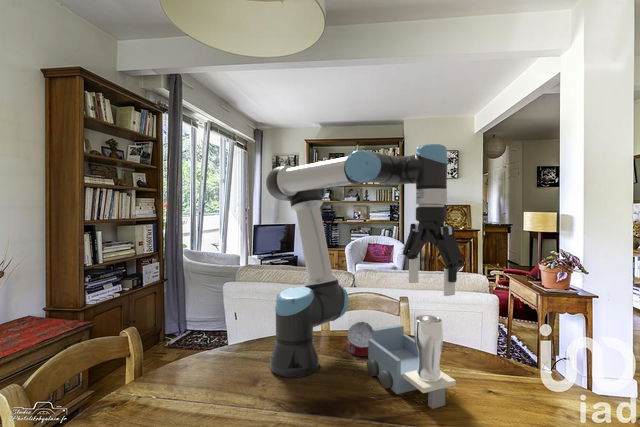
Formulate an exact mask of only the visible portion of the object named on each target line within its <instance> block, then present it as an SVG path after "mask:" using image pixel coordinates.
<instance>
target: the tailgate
mask: <svg viewBox="0 0 640 427" xmlns="http://www.w3.org/2000/svg"><path fill="white" fill-rule="evenodd" d="M416 373H417V370H416V371H411V372H407V373H404V378H405V379H406V380H407V381H408V382H410V383H411V384H412V385H413V386H415V387H416V388H417V390H418V391H420V392H421V393H422V394H426V393H428V392H431V391H435V390H439V389H443V388H445V389H446V388H451V387H455V386H456V384H457V383H456V382H457V380H456V379H454V378H453V377H452V376H449V375H448V374H446V373H445V372H443V371H442V370H440V373H441V380H440V381H438V382H434V383H430V382H425V381H422V380H420V379H419V378H418V377H417V375H416Z"/></svg>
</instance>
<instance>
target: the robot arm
mask: <svg viewBox="0 0 640 427" xmlns="http://www.w3.org/2000/svg"><path fill="white" fill-rule="evenodd" d="M448 165H449V162H448V150H447V147H446V146H445V145H443V144H439V143H438V144H436V143H428V144H422V145H419V146H417V147H416V151H415V154H412V155H405V156H404V155H403V156H395V155H390V154H383V153H379V152H375V151H370V150H368V149H367V150H366V149H365V150H363V149H362V150H361V149H358V150H354V151H353V152H352V153H350V154H349V155H348V156H343V157H338V158H333V159H328V160H327V159H326V160H323V161H319V162H318V161H317V162H314V163H308V164H304V165H298V166H292V165H283V166H277V167H275V168H273V169H271V171H269V172H268V174H267V176H266V179H265V181H266V182H265V186H266V189H267V191H268V193H269V194H270V195H271V197H273V198H274V199H276V200H278V201H284V202H287V201H289V202H290V208H291V209H292V210H293V211H294V212H295V213H296V218H297V223H298V228H299V234H300V235H299V236H300V240H301V247H302V252H303V258H304V263H305V268H306V275H307V281H306V282H305V284H304V286H297V287H294V286H293V287H289V288H287V289H286V288H285V289H283V290H282V291H280V292H279V293H278V294H277V296H276V298H275V306H274V311H275V343H274V346H273V349H272V353H271V356H270V358H269V369H270V370H271V372H272V373H273V374H275V375H277V376H280V377H283V378H301V377H305V376H309V375H311V374H312V373H314V372H315V371H317V370H318V369H319V364H320V363H319V362H320V358H319V355H318V353H317V351H316V346H315V343H314V328H316V327H318V326H321V325H324V324H327V323H330V322H335V321H336V320H338V319H340V318H342V317H343V316H345V314H346V312H347V311H348V308H349V303H350V301H349V300H350V298H349V294H348V291H347V289H345V288H344V285H342V284H340V283H339V279H338V277H336V276H335V275H334V274H333V271H332V264H331V260H330V254H329V250H328V243H327V238H326V233H325V227H324V221H323V217H322V211H321V207H322V205H323V204H324V198H325V196H326V192H327V190H328V189H327V188H335V187H341V186H351V185H358V184H367V183H371V184H372V183H374V184H375V183H376V184H379V185H383V186H395V185H407V184H408V185H409V184H413V185H414V184H415V189H416V190H415V204H416V205H418V206H416V208H415V221H417V222H418V223H410V224H409V225H410V226H409V233H408V236H407V239H406V243H405V244H404V249H403V251H402V255H403V256H406V258H407V264H408V265H407V268H408V283H409V284H416V283H419V267H420V266H419V265H420V264H419V262H420V260H419V256H418V255H419V254H420V253H421V251H422V249H423V248H424V246H425V244H426V243H429V244H433V245H434V246H435V247H436V249H437V251H438V253H439V255H440V257H441V259H442V260H443V262H444V265H445V267H444V268H443V296H444V297H451V296H455V295H456V283H457V279H458V278H457V276H458V275H457V274H458V271H457V270H458V268H464V266H465V262H464V259H463V255H462V254H461V250H460V247H459V244H458V242H457V238H456V235H455V227H454V226H453V225H450V226H448V225H447V226H445V225H444V224H445V222H446V221H447V220H448V219H447V216H448V215H447V212H448V211H447V209H448V208H447V207H446V206H445V205H447V204H448V189H447V188H448V186H447V185H448V181H447V180H448Z"/></svg>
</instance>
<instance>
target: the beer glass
mask: <svg viewBox="0 0 640 427" xmlns="http://www.w3.org/2000/svg"><path fill="white" fill-rule="evenodd" d="M414 320H415V321H414V323H415V324H414V340H415V345H416V351H417V356H418V367H417V373H416V375H417V377H418V378H419V379H420V380H422V381H425V382H430V383H434V382H438V381H440V380H441V373H440V371H441V369H440V362H441V355H442V350H443V344H444V342H443V341H444V332H443V330H444V329H443V320H442V318H440V316H439V317H438V316H435V315H432V314H431V315H430V314H421V315H417V316H415V319H414Z"/></svg>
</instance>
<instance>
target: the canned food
mask: <svg viewBox="0 0 640 427" xmlns="http://www.w3.org/2000/svg"><path fill="white" fill-rule="evenodd" d="M372 329H373V327H372V325H370V324H369V323H367V322H365V321H358V322H356V323H354V324H352V325H351V326H350V327H349V328H348V331H347V333H346V334H347V338H346V346H345V347H346V352H348V353H349V354H351V355H355V356H360V357H361V356H362V357H363V356H364V357H365V356H368V341H369V339H372Z"/></svg>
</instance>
